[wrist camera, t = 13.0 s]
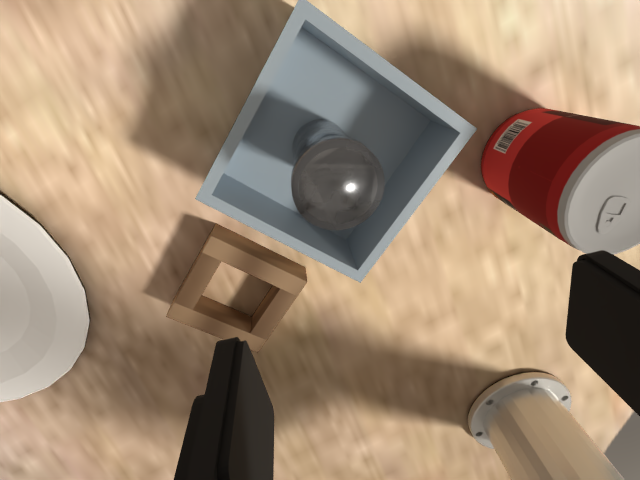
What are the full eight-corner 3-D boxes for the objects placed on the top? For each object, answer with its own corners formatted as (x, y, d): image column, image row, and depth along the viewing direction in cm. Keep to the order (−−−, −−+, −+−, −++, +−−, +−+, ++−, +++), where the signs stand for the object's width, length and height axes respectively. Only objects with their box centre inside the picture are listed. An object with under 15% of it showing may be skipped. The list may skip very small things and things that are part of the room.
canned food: (473, 204, 34) (553, 264, 24) (482, 112, 30) (580, 138, 21) (555, 193, 34) (666, 249, 25) (573, 101, 31) (711, 123, 21)
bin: (441, 115, 30) (477, 128, 25) (347, 247, 35) (360, 282, 29) (295, 8, 26) (300, -4, 21) (209, 173, 30) (195, 199, 25)
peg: (345, 106, 29) (376, 128, 20) (358, 171, 31) (390, 217, 22) (279, 123, 29) (280, 153, 20) (296, 186, 31) (304, 239, 22)
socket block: (305, 267, 35) (307, 281, 33) (259, 335, 38) (257, 352, 36) (215, 223, 32) (211, 235, 30) (173, 300, 35) (166, 316, 33)
